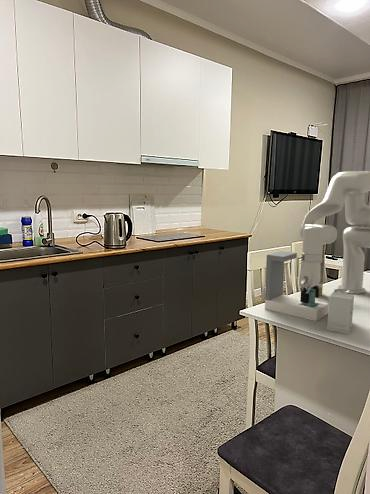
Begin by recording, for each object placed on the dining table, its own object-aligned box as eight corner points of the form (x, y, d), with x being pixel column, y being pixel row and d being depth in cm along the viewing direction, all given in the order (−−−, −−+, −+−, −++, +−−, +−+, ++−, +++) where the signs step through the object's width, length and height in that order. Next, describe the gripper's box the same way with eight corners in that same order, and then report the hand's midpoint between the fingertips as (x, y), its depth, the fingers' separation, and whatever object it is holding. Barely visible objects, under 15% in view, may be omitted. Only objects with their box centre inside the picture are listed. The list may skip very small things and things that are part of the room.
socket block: (278, 302, 165) (280, 251, 161) (328, 313, 151) (331, 257, 147) (264, 308, 156) (266, 254, 152) (316, 321, 142) (319, 261, 138)
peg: (302, 312, 152) (304, 288, 150) (312, 312, 152) (314, 288, 150) (305, 315, 148) (306, 290, 146) (315, 315, 148) (316, 291, 146)
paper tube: (322, 293, 179) (325, 241, 175) (321, 296, 173) (324, 243, 169) (308, 291, 182) (310, 241, 178) (306, 295, 176) (309, 242, 172)
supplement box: (348, 334, 128) (351, 299, 126) (326, 330, 132) (328, 296, 130) (352, 328, 135) (354, 294, 133) (330, 324, 138) (332, 291, 136)
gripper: (311, 253, 155) (309, 293, 158) (293, 259, 142) (291, 303, 145) (329, 256, 150) (327, 297, 153) (312, 262, 137) (309, 307, 140)
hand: (309, 299), depth 149 cm, fingers open, 9 cm apart
